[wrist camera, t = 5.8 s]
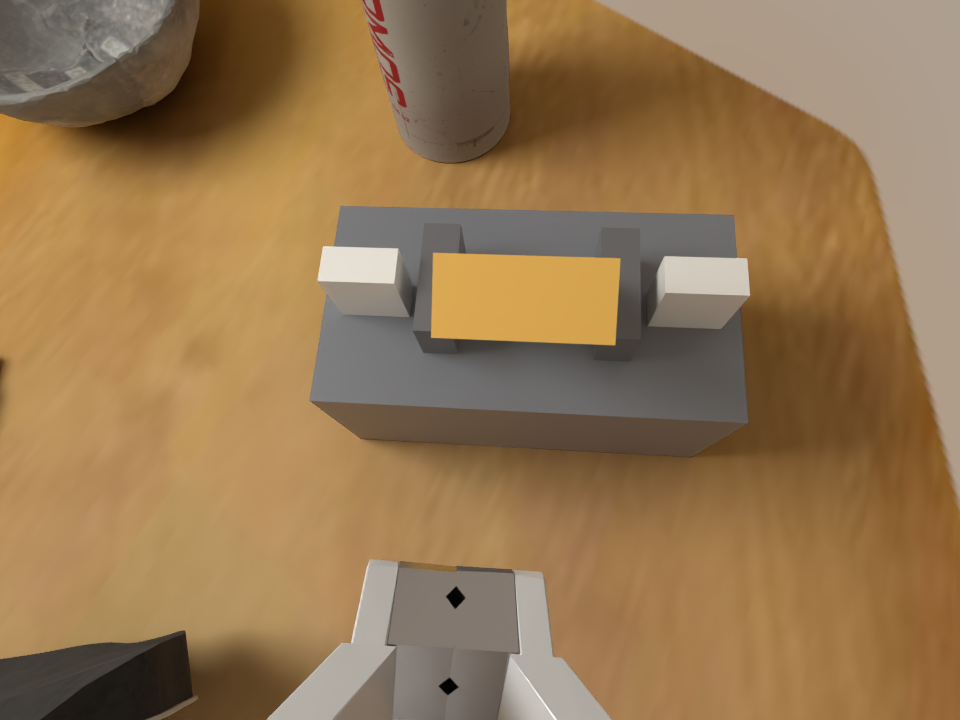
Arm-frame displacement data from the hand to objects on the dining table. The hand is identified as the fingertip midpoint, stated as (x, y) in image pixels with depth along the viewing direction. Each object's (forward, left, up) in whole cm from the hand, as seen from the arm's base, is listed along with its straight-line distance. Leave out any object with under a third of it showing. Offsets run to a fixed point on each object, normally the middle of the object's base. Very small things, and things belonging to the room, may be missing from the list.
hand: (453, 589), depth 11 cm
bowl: (+40, +21, -24) cm, 51 cm away
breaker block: (+11, -4, -23) cm, 26 cm away
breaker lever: (+11, -4, -13) cm, 18 cm away
